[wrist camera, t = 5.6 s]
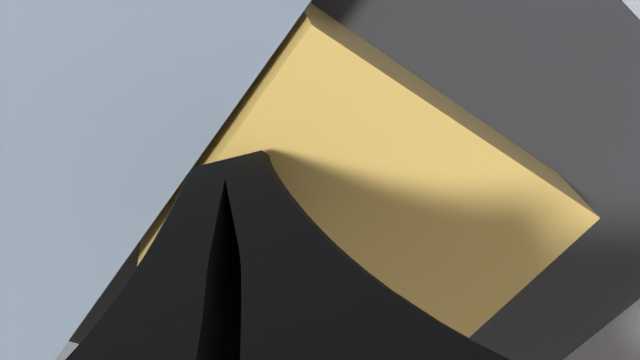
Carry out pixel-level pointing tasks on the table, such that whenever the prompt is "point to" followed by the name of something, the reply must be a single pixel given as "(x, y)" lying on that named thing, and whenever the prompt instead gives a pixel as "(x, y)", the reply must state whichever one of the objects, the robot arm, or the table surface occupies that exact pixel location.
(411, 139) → the yellow flat piece
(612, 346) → the table surface
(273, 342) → the robot arm
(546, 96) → the mat
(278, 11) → the light blue flat slab
